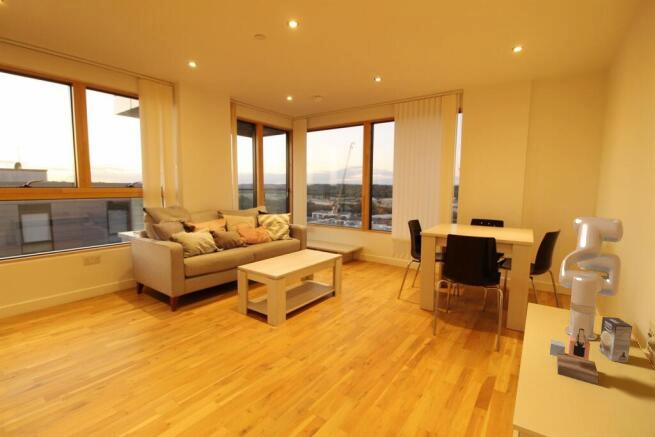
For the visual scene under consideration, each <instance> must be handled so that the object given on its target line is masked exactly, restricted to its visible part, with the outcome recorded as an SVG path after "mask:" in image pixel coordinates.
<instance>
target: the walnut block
mask: <svg viewBox="0 0 655 437" xmlns="http://www.w3.org/2000/svg"><path fill="white" fill-rule="evenodd" d="M556 366H557V368H556V369H557V370H556V371H557V375H559V376H563V377H567V378H571V379H573V380H577V381H581V382H585V383H588V384H591V385H595V386H598V384H599V373H598V370H597V369H598V368H597V365H596V362H595V361H593V360H590V359H588V360H586V359H582V358H578V357H574V356H571V355H569V354H565V353H564V354H562V353H558V356H556Z"/></svg>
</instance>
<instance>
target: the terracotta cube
mask: <svg viewBox="0 0 655 437" xmlns="http://www.w3.org/2000/svg"><path fill="white" fill-rule="evenodd" d="M578 338H579V337H578ZM575 340H576V337H572V336H571V335H569V334H568V346H567V352H568V354H567V355H570V356H574V357H577V358H581V359H585V360H590V359H589V357H590V348H591V344H590V343H591V342H590V340H589V339H587V340H585V352H584V357H580V356H576V355H574V354H573V352H574V345H575ZM577 341H579V339H578V340H577Z"/></svg>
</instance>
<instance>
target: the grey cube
mask: <svg viewBox="0 0 655 437" xmlns="http://www.w3.org/2000/svg"><path fill="white" fill-rule="evenodd" d="M565 350H566V343H565V342H564V341H560V340H556V339H550V345H549V355H551V356H553V357H554V356H555V357H557V356H558V353H562V354H565V352H566V351H565Z"/></svg>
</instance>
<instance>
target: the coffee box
mask: <svg viewBox="0 0 655 437" xmlns="http://www.w3.org/2000/svg"><path fill="white" fill-rule="evenodd" d="M632 333H633V325H630V324H629V323H627V322H626V321H625V320H622V319H621V318H619V317H611V316H602V319H601V330H600V336H599V337H600V340H599V345H598V351H599V352H600V353H602V354H603V355H604V356H605V357H606V358H607V359H608V360H610V361H612V362H618V363H619V362H620V363H628V362H629V356H630V348H631V339H632Z"/></svg>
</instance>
